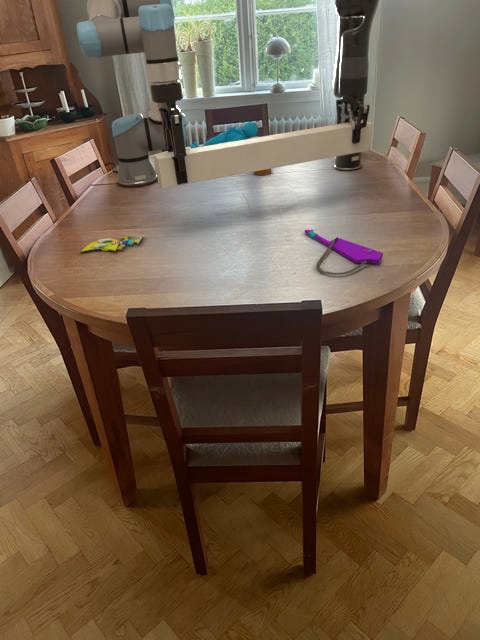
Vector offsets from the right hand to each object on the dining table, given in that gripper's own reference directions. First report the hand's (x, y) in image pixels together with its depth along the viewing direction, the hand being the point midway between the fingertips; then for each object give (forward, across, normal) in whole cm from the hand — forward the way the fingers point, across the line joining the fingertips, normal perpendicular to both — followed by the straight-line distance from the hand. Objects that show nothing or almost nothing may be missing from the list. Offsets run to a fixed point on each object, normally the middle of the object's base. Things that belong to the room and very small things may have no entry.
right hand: (350, 140), depth 137 cm
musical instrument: (+18, -30, +22) cm, 42 cm away
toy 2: (+19, +80, +13) cm, 84 cm away
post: (+3, 0, +26) cm, 26 cm away
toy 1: (+18, +5, +71) cm, 74 cm away
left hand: (+2, 0, +51) cm, 51 cm away
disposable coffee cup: (+19, +44, +10) cm, 49 cm away
